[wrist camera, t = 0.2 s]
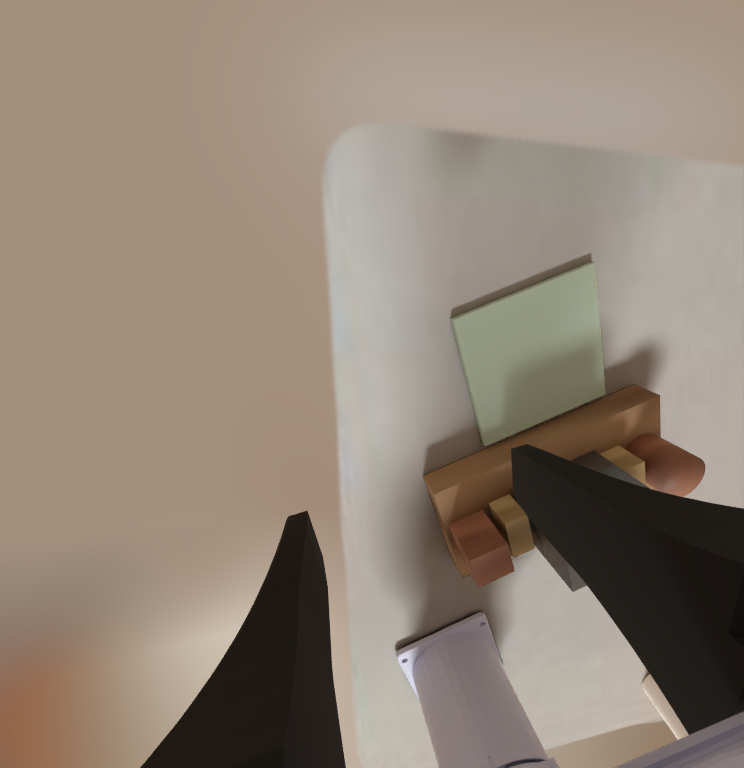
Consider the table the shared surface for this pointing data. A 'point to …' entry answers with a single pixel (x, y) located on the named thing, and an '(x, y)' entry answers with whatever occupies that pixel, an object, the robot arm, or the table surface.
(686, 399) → the table surface
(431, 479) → the block sculpture plaque
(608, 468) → the grey block
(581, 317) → the mat
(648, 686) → the cup
